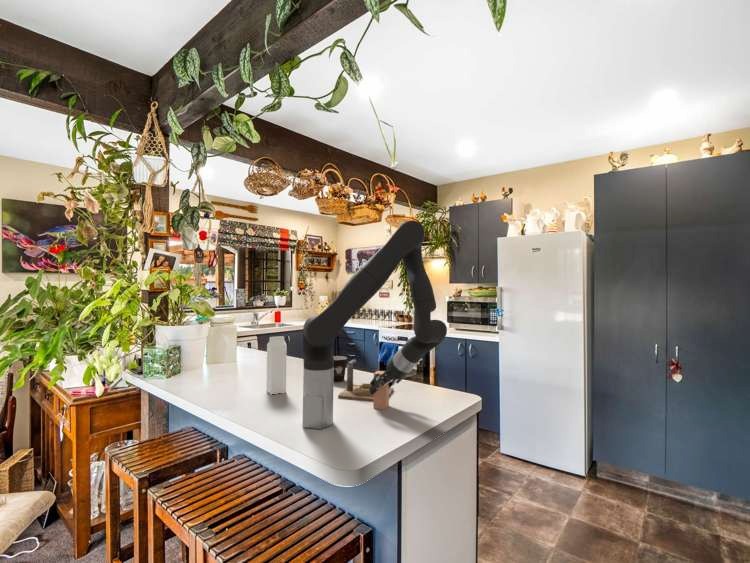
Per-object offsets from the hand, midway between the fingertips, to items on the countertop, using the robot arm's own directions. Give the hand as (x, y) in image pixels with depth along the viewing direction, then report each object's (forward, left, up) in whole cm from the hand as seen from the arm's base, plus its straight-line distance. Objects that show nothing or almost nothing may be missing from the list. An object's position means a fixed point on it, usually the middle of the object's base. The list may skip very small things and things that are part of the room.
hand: (378, 390), depth 133 cm
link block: (-1, -1, -5) cm, 6 cm away
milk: (+4, +43, -6) cm, 43 cm away
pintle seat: (+12, +7, -5) cm, 15 cm away
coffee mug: (+28, +28, -6) cm, 40 cm away
